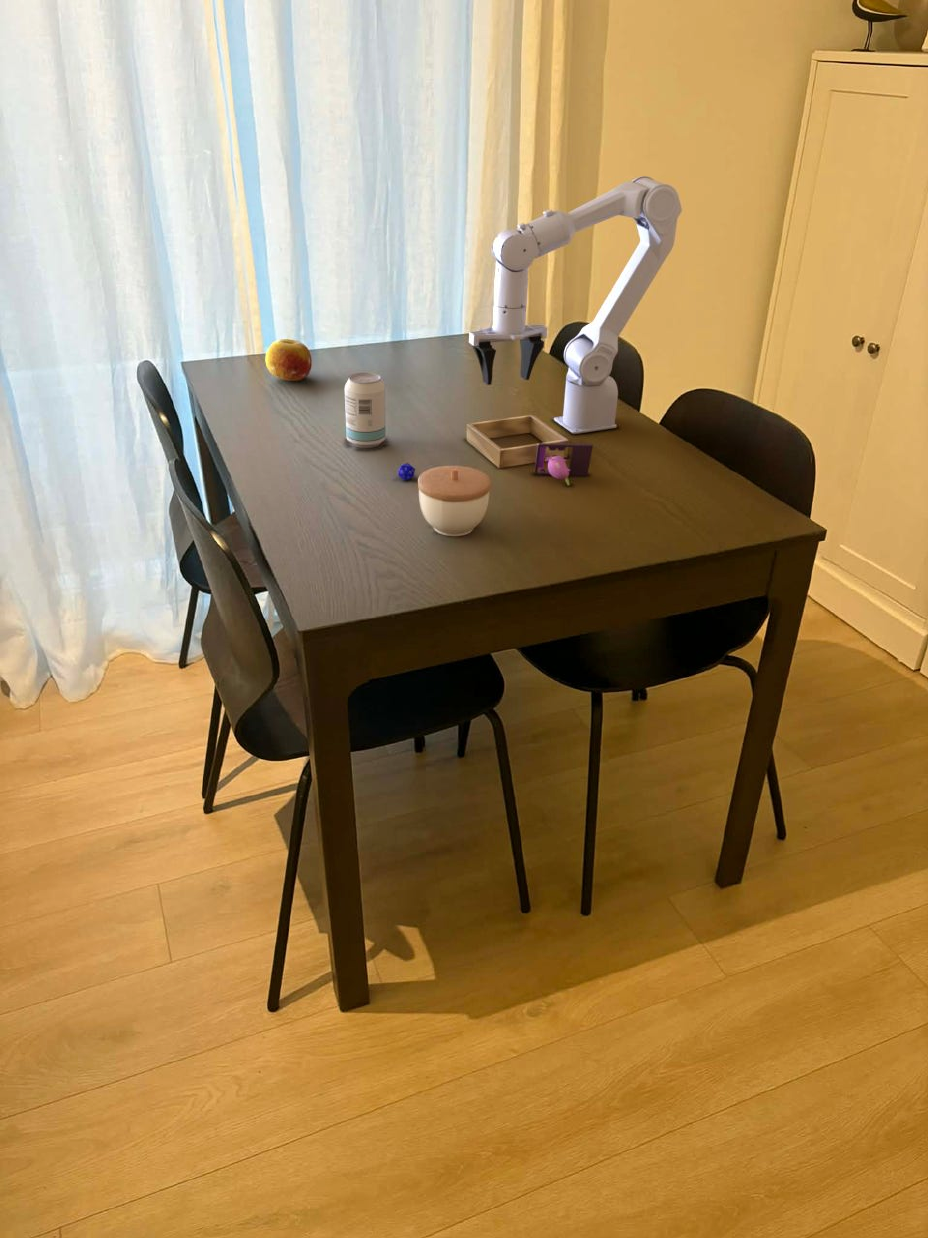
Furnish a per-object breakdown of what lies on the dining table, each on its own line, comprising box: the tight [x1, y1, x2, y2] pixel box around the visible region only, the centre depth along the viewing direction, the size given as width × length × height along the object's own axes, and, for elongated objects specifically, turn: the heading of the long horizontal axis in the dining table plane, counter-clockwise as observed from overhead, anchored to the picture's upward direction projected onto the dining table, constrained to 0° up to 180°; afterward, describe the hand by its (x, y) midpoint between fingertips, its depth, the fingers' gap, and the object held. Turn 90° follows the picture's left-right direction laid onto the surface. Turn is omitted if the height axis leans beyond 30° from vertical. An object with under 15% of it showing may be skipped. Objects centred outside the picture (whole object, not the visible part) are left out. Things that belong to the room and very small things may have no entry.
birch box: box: [466, 414, 570, 469], centre depth 174 cm, size 13×13×3 cm
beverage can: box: [344, 371, 386, 449], centre depth 172 cm, size 7×7×12 cm
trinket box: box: [417, 465, 492, 537], centre depth 146 cm, size 11×11×9 cm
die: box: [397, 462, 416, 482], centre depth 162 cm, size 3×3×3 cm
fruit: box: [264, 338, 313, 382], centre depth 201 cm, size 10×9×8 cm
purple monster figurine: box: [533, 442, 594, 486], centre depth 162 cm, size 7×5×9 cm
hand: (506, 380), depth 177 cm, fingers open, 7 cm apart
